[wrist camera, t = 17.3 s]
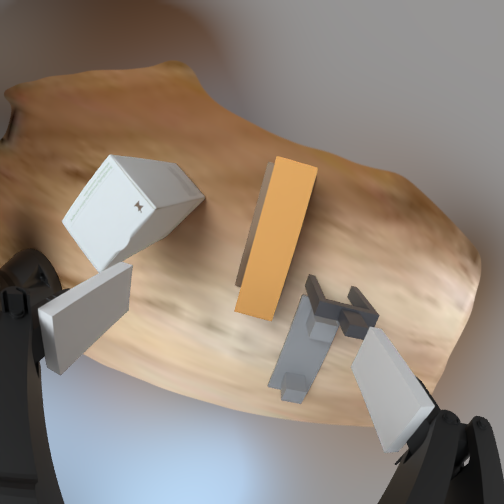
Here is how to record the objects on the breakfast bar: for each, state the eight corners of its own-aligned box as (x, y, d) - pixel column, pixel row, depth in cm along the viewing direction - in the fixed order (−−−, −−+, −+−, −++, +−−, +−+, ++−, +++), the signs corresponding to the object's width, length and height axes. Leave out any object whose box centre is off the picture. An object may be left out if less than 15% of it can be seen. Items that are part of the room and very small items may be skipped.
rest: (235, 283, 36) (230, 296, 32) (268, 162, 32) (267, 157, 28) (279, 296, 36) (280, 310, 32) (315, 175, 32) (322, 173, 28)
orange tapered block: (238, 298, 32) (234, 311, 28) (276, 160, 28) (276, 155, 25) (271, 307, 32) (271, 321, 28) (312, 170, 28) (318, 167, 24)
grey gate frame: (305, 285, 35) (319, 332, 23) (308, 274, 34) (325, 316, 22) (352, 298, 34) (384, 345, 23) (357, 287, 34) (391, 331, 22)
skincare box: (176, 162, 33) (111, 146, 18) (209, 200, 34) (161, 208, 19) (134, 206, 35) (57, 219, 20) (164, 242, 36) (98, 277, 20)
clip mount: (267, 384, 39) (266, 403, 35) (302, 294, 36) (305, 308, 31) (306, 392, 39) (308, 411, 35) (346, 305, 36) (354, 320, 31)
